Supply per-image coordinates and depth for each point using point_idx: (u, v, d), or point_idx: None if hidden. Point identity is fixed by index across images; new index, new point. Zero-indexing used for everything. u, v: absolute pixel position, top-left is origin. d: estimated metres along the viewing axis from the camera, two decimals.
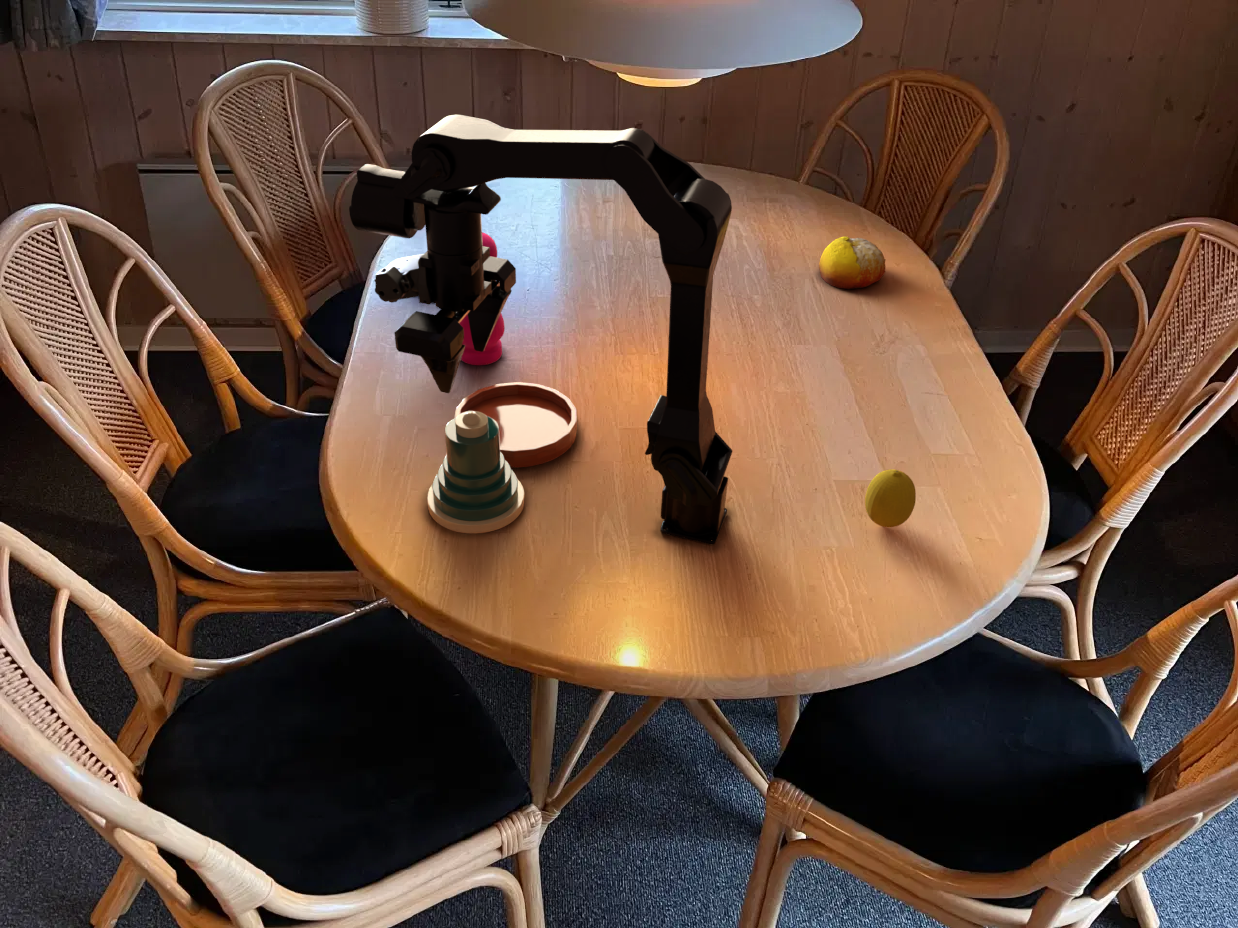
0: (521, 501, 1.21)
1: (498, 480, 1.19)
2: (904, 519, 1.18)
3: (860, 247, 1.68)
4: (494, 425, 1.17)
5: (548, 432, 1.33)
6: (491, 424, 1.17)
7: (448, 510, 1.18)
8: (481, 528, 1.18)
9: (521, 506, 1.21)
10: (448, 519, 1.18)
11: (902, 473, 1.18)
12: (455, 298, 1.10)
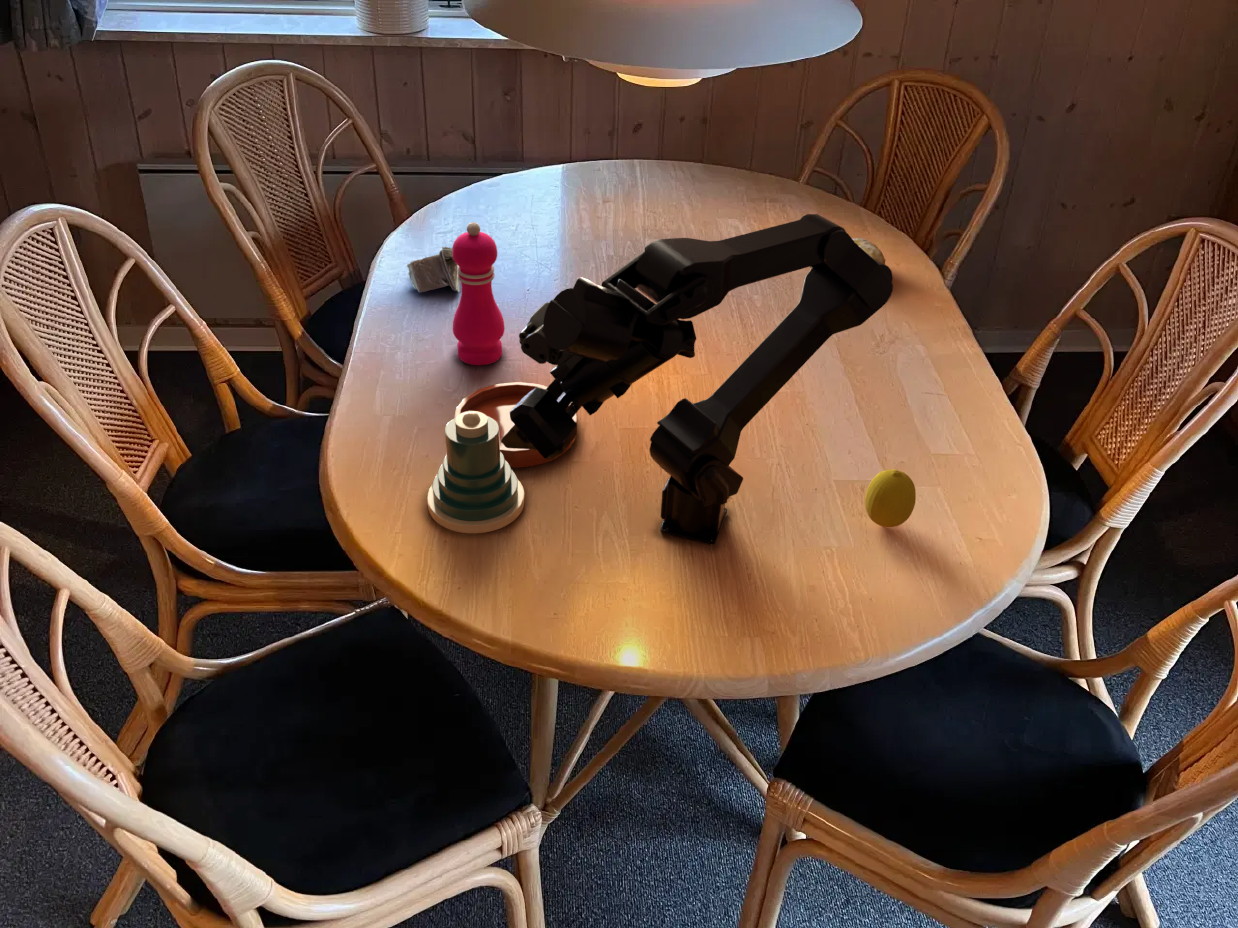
0: (521, 501, 1.21)
1: (498, 480, 1.19)
2: (904, 519, 1.18)
3: (860, 247, 1.68)
4: (494, 425, 1.17)
5: None
6: (491, 424, 1.17)
7: (448, 510, 1.18)
8: (481, 528, 1.18)
9: (521, 506, 1.21)
10: (448, 519, 1.18)
11: (902, 473, 1.18)
12: (585, 397, 1.04)
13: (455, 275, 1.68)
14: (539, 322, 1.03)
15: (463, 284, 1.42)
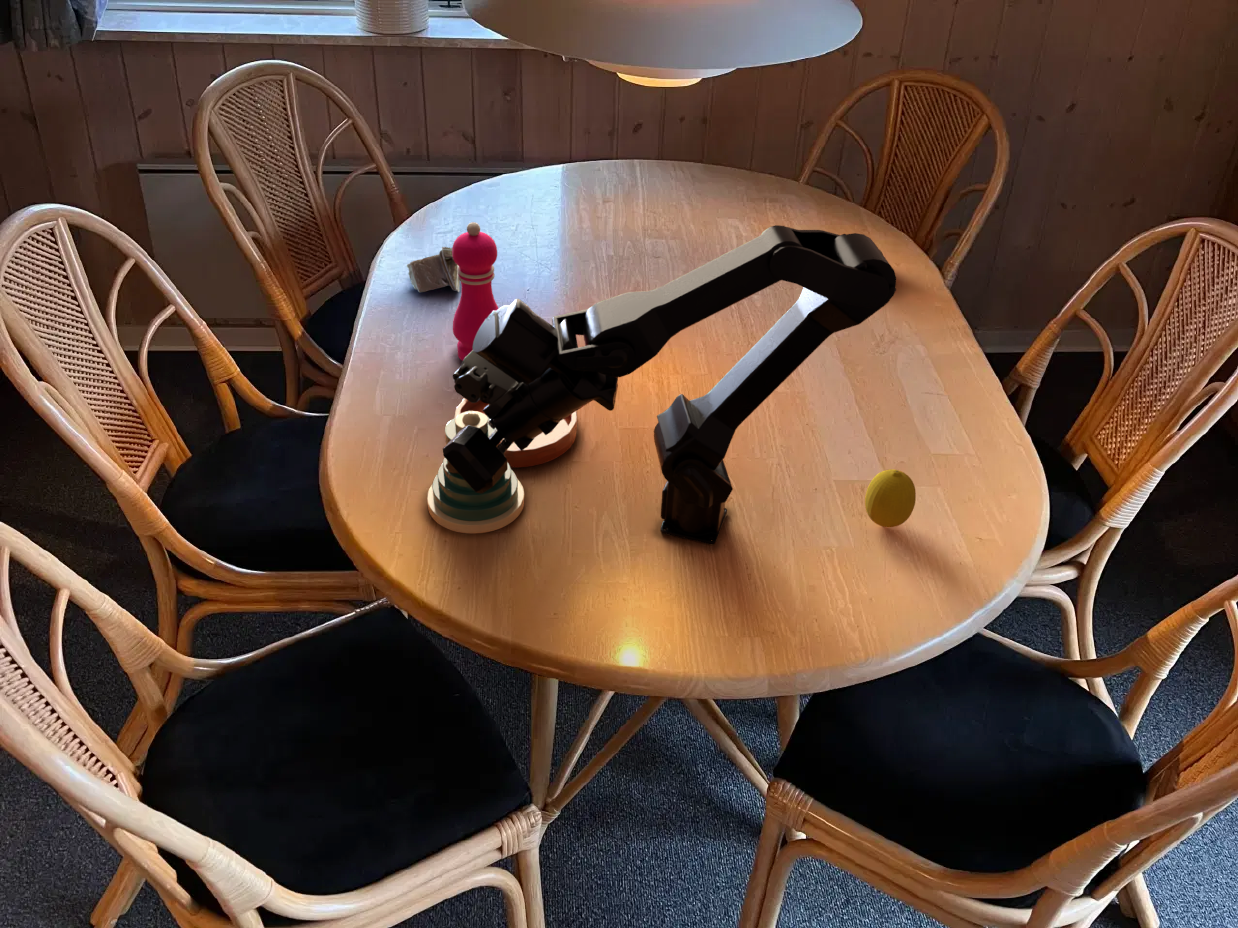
0: (521, 501, 1.21)
1: (498, 480, 1.19)
2: (904, 519, 1.18)
3: None
4: None
5: None
6: None
7: (447, 510, 1.18)
8: (481, 528, 1.18)
9: (521, 506, 1.21)
10: (448, 519, 1.18)
11: (902, 473, 1.18)
12: (516, 434, 1.11)
13: (455, 275, 1.68)
14: (472, 363, 1.09)
15: (463, 284, 1.42)
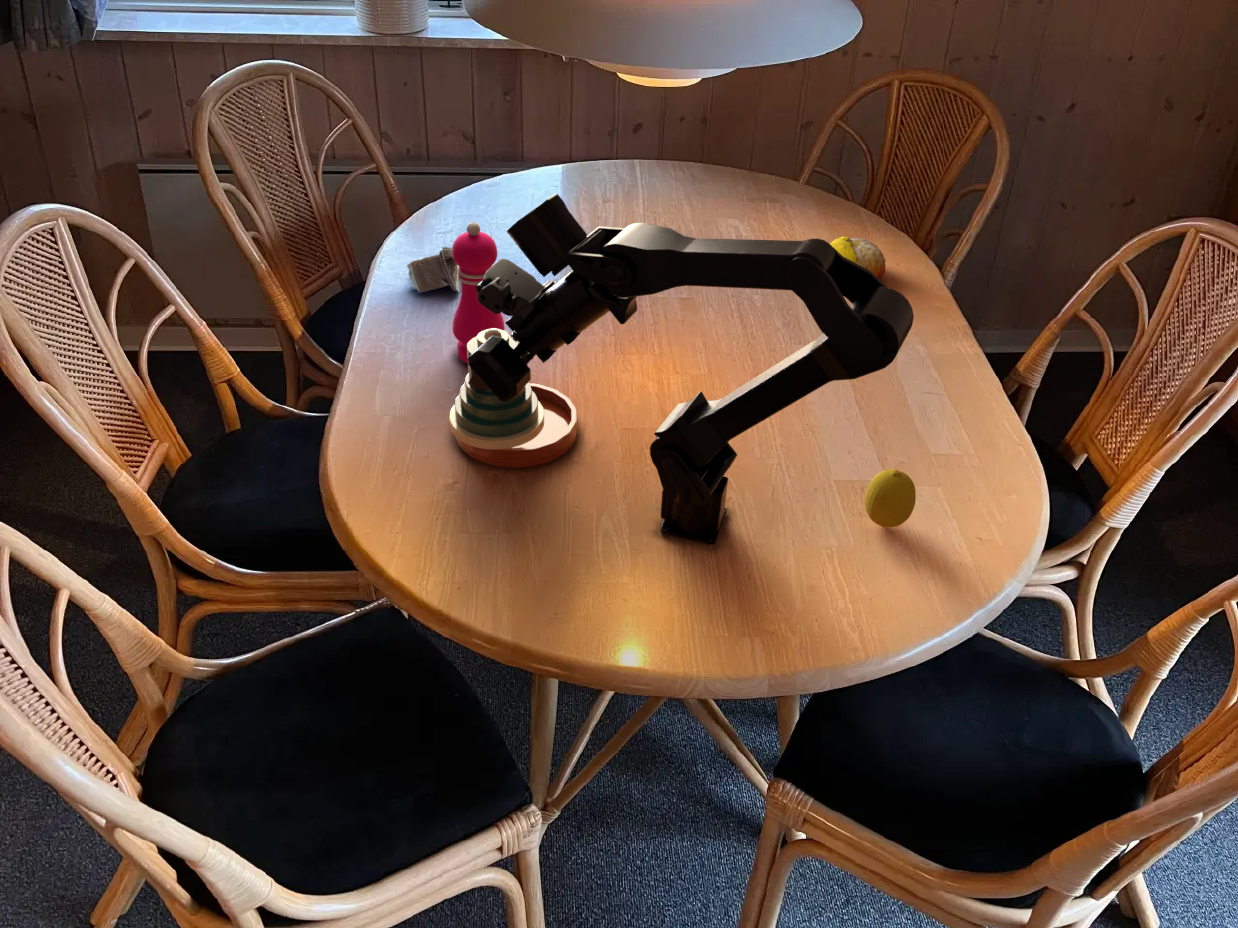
0: (542, 419, 1.24)
1: (519, 397, 1.21)
2: (904, 519, 1.18)
3: (860, 247, 1.68)
4: (515, 342, 1.20)
5: (548, 432, 1.33)
6: (512, 341, 1.20)
7: (470, 427, 1.21)
8: (503, 444, 1.21)
9: (542, 424, 1.24)
10: (471, 436, 1.21)
11: (902, 473, 1.18)
12: (538, 345, 1.13)
13: (455, 275, 1.68)
14: (494, 276, 1.12)
15: (463, 284, 1.42)
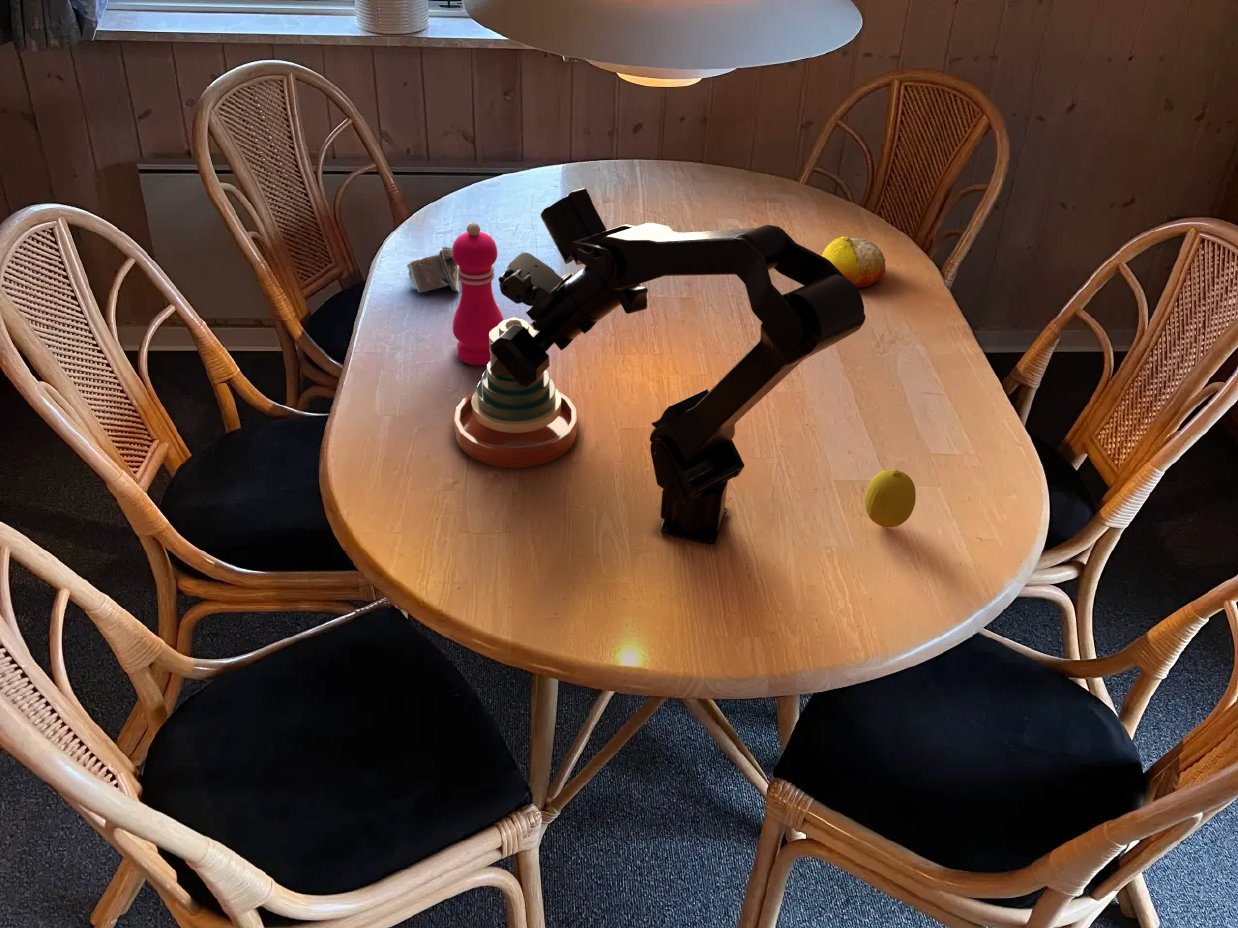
0: (559, 405, 1.31)
1: (538, 383, 1.28)
2: (904, 519, 1.18)
3: (860, 247, 1.68)
4: (534, 331, 1.27)
5: (548, 432, 1.33)
6: (531, 330, 1.27)
7: (491, 411, 1.28)
8: (522, 427, 1.27)
9: (559, 409, 1.31)
10: (492, 420, 1.28)
11: (902, 473, 1.18)
12: (557, 334, 1.20)
13: (455, 275, 1.68)
14: (516, 268, 1.19)
15: (463, 284, 1.42)
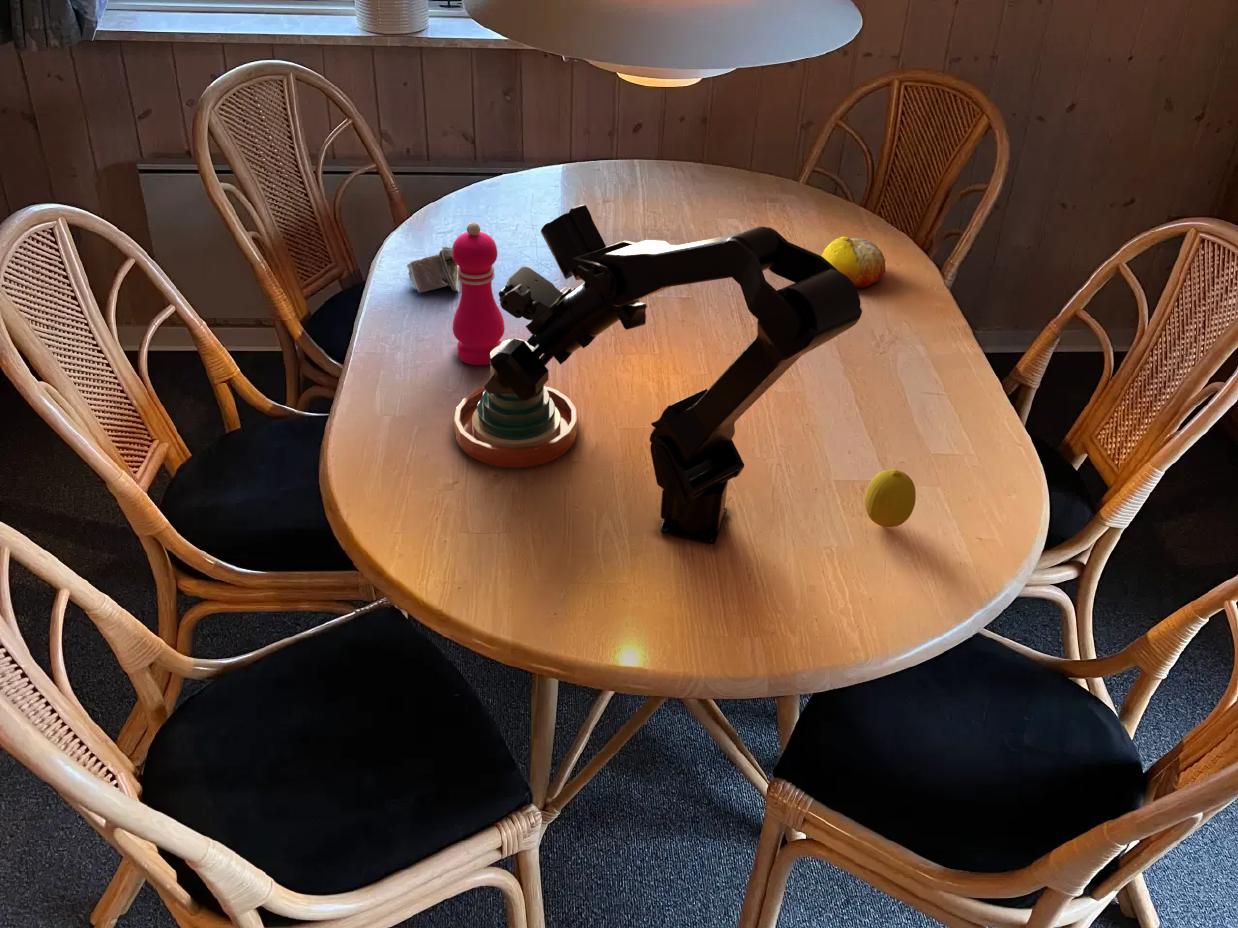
0: (558, 424, 1.33)
1: (538, 403, 1.30)
2: (904, 519, 1.18)
3: (860, 247, 1.68)
4: None
5: None
6: None
7: (492, 430, 1.29)
8: (522, 446, 1.29)
9: (558, 428, 1.33)
10: (492, 438, 1.30)
11: (902, 473, 1.18)
12: (556, 348, 1.21)
13: (455, 275, 1.68)
14: (516, 282, 1.20)
15: (463, 284, 1.42)
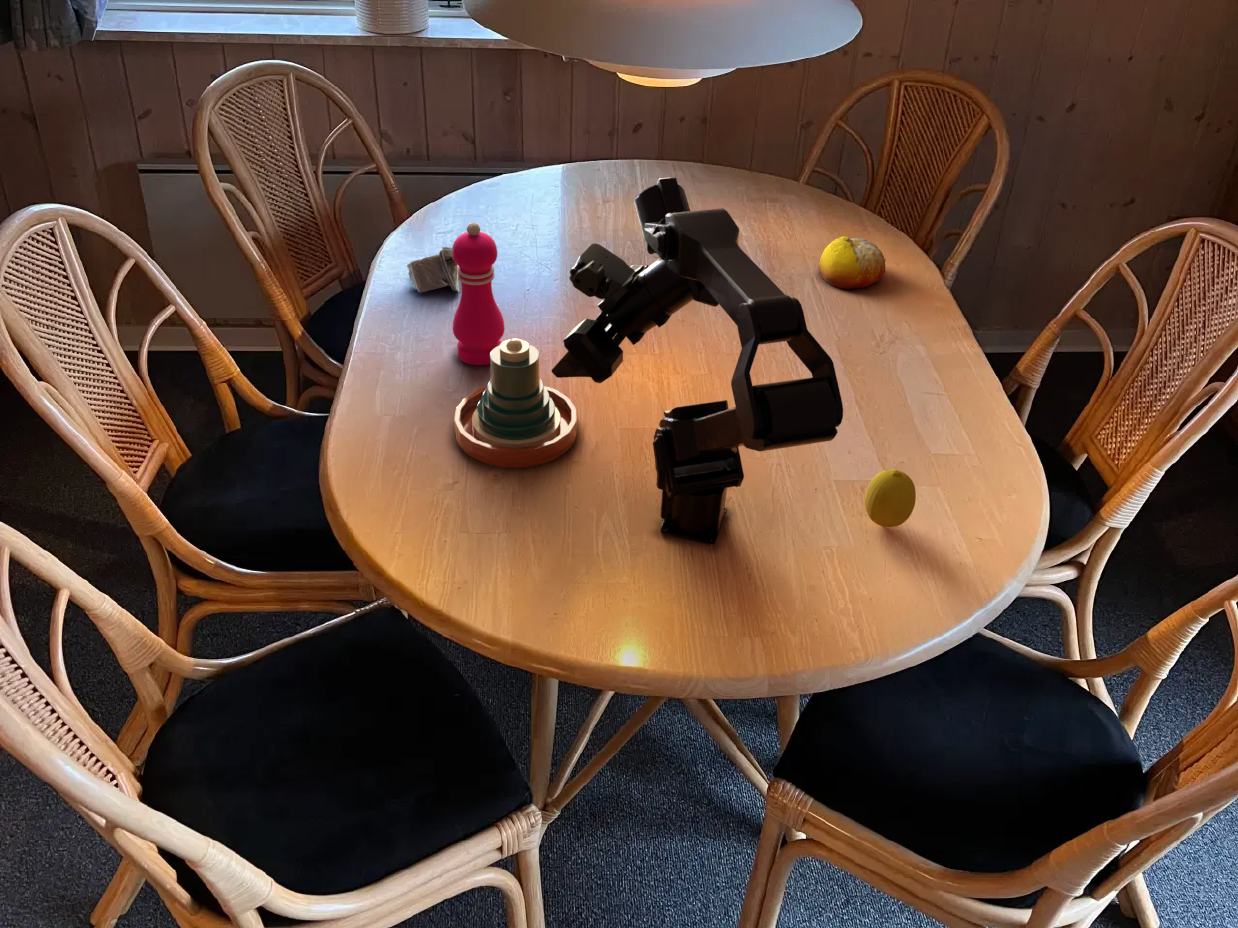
0: (558, 424, 1.33)
1: (538, 403, 1.30)
2: (904, 519, 1.18)
3: (860, 247, 1.68)
4: (535, 352, 1.28)
5: None
6: (532, 351, 1.29)
7: (492, 430, 1.29)
8: (522, 446, 1.29)
9: (558, 428, 1.33)
10: (492, 438, 1.30)
11: (902, 473, 1.18)
12: (630, 328, 1.16)
13: (455, 275, 1.68)
14: (588, 260, 1.14)
15: (463, 284, 1.42)
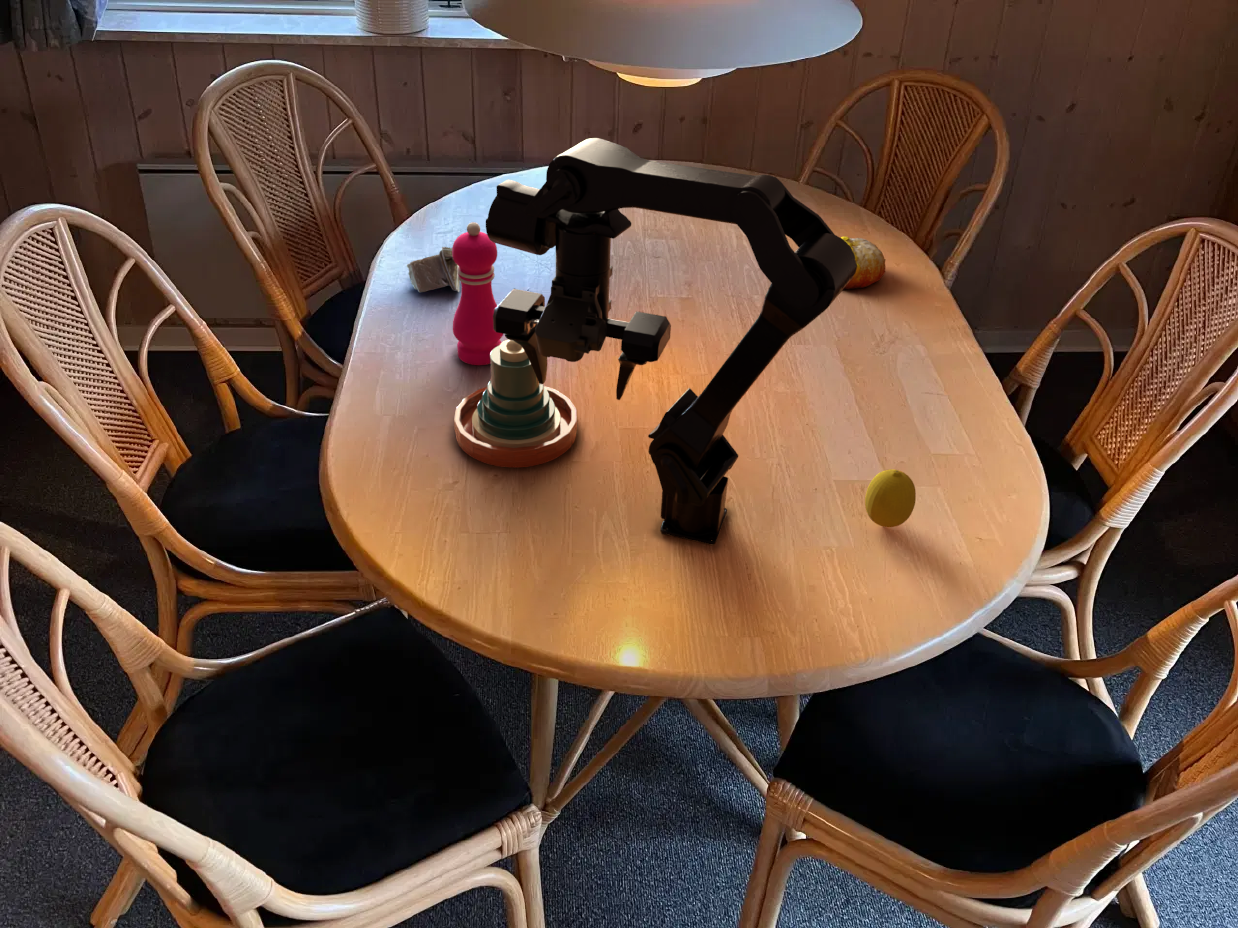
0: (558, 424, 1.33)
1: (538, 403, 1.30)
2: (904, 519, 1.18)
3: (860, 247, 1.68)
4: None
5: None
6: None
7: (492, 430, 1.29)
8: (522, 446, 1.29)
9: (558, 428, 1.33)
10: (492, 438, 1.30)
11: (902, 473, 1.18)
12: None
13: (455, 275, 1.68)
14: (572, 335, 1.06)
15: (463, 284, 1.42)
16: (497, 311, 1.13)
